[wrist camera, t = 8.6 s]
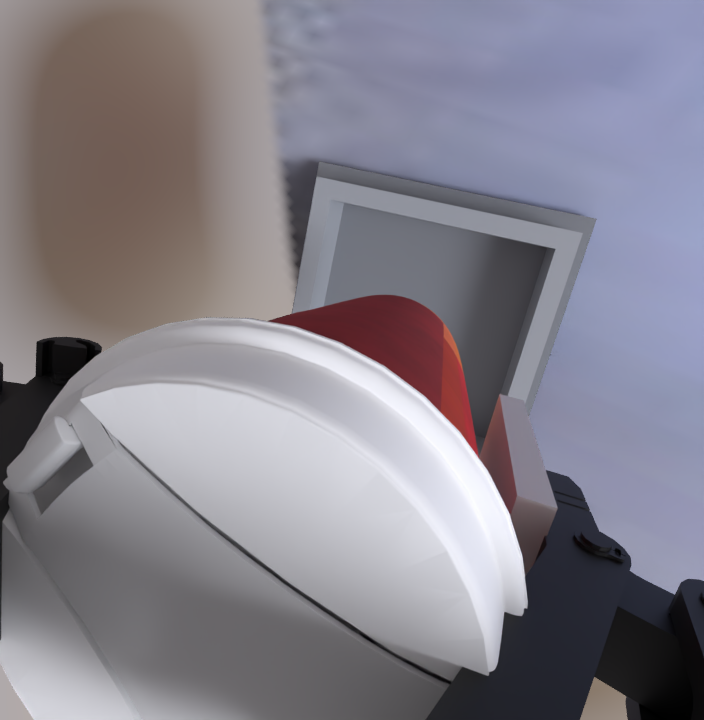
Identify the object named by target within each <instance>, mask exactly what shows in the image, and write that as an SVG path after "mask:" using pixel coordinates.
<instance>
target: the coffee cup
mask: <svg viewBox="0 0 704 720" xmlns="http://www.w3.org/2000/svg"><path fill="white" fill-rule="evenodd" d="M7 476H8V477H7V478H6V480H5V481H4V482H3V484H4V485H5V486H6V488H7V489H8V490H10V491H9V500H8V504H9V506H10V509H9V510H8V512H7V514H6V516H5V518H4V520H3V521H2V600H1V640H0V664H1V666H2V668H3V670H4V672H5V674H6V675H7V677H8V679H9V681H10V683H11V685H12V687H13V689H14V691H15V692H16V694H17V695H18V697H19V698H20V700H21V701H22V703H23V704H24V706H25V707H26V709H27V710H28V711H29V713H30V715H31V716H32V718H33V719H34V720H426V718H427V717H428V715H429V714H430V712H431V711H432V710H433V708H434V707H435V705H436V704H437V702H438V701H439V699H440V698H441V697H442V695H443V694H444V692H445V691H446V689H447V688H448V687H449V685H450V684H451V682H452V681H453V679H454V678H455V677H456V675H457V674H458V672H459V671H460V669H461V668H462V667H465V668H468V669H470V670H473V671H476V672H479V673H481V674H484V675H487V676H489V672H491V671H493V670H495V668H496V666H497V664H498V658H499V651H500V644H501V636H502V628H503V619H504V612H507V613H510V614H513V615H518V616H522V615H523V613H524V608H526V609H527V606H528V599H527V590H526V582H525V573H524V565H523V557H522V553H521V550H520V547H519V544H518V540H517V537H516V534H515V530H514V527H513V524H512V520H511V517H510V514H509V512H508V510H507V508H506V506H505V504H504V502H503V500H502V498H501V496H500V494H499V492H498V490H497V488H496V486H495V484H494V482H493V480H492V478H491V476H490V474H489V472H488V470H487V469H486V467H485V466H484V465H483V463H482V462H481V461H480V459H479V455H478V449H477V444H476V438H475V432H474V427H473V421H472V415H471V410H470V404H469V399H468V394H467V388H466V383H465V378H464V373H463V368H462V363H461V360H460V356H459V352H458V349H457V346H456V343H455V341H454V339H453V337H452V335H451V333H450V331H449V330H448V328H447V327H446V325H445V324H444V323H443V321H442V320H441V319H440V318H439V317H438V316H437V315H436V314H435V313H434V312H432V311H431V310H430V309H428V308H427V307H426V306H424V305H422V304H420V303H418V302H416V301H414V300H411V299H409V298H405V297H402V296H396V295H371V296H365V297H360V298H355V299H351V300H347V301H343V302H339V303H335V304H331V305H327V306H323V307H319V308H315V309H312V310H306V311H301V312H296V313H293V314H290V315H286V316H283V317H280V318H276V319H273V320H270V321H263V320H258V319H252V318H213V317H208V318H207V317H206V318H200V319H194V320H188V321H181V322H175V323H169V324H164V325H161V326H159V327H156V328H153V329H150V330H147V331H144V332H141V333H138V334H136V335H133V336H130V337H127V338H125V339H124V340H122V341H120V342H119V343H117V344H116V345H114V346H112V347H110V348H109V349H107V350H105V351H103V352H102V353H100V354H98V355H97V356H95V357H94V358H93V359H92V360H91V361H90V362H89V363H87V364H86V365H85V366H84V367H83V368H82V369H81V370H80V371H78V372H77V373H76V374H75V375H74V376H73V377H72V378H71V379H70V380H69V381H68V382H67V384H66V385H65V386H64V388H63V389H62V390H61V392H60V393H59V394H58V396H57V397H56V398H55V400H54V401H53V402H52V404H51V405H50V406H49V408H48V410H47V411H46V412H45V414H44V416H43V418H42V420H41V422H40V424H39V426H38V428H37V429H36V431H35V432H34V433H33V435H32V436H31V437H30V439H29V440H28V442H27V444H26V446H25V448H24V450H23V451H22V452H21V453H20V454H19V455H18V456H17V457H16V458H15V460H14V461H13V462H12V463H11V464H10V465H9V466H8V467H7Z"/></svg>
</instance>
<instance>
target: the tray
mask: <svg viewBox="0 0 704 720" xmlns="http://www.w3.org/2000/svg"><path fill="white" fill-rule="evenodd" d="M595 222H596V219H594V218H590V217H585V216H580V215H575V214H570V213H565V212H561V211H556V210H551V209H546V208H541V207H536V206H532V205H527V204H522V203H517V202H512V201H507V200H503V199H498V198H493V197H488V196H483V195H478V194H474V193H469V192H464V191H459V190H454V189H450V188H445V187H440V186H435V185H430V184H425V183H421V182H416V181H411V180H406V179H401V178H396V177H392V176H387V175H382V174H377V173H372V172H367V171H363V170H358V169H353V168H348V167H343V166H338V165H334V164H329V163H324V162H319V165H318V171H317V176H316V182H315V187H314V193H313V198H312V204H311V210H310V215H309V221H308V226H307V232H306V237H305V243H304V249H303V254H302V260H301V265H300V271H299V276H298V282H297V287H296V293H295V299H294V304H293V310H292V314H293V313H296V312H301V311H306V310H312V309H315V308H319V307H323V306H327V305H331V304H335V303H339V302H343V301H347V300H351V299H355V298H360V297H365V296H371V295H396V296H402V297H405V298H409V299H411V300H414V301H416V302H418V303H420V304H422V305H424V306H426V307H427V308H428V309H430V310H431V311H432V312H434V313H435V314H436V315H437V316H438V317H439V318H440V319H441V320H442V321H443V323H444V324H445V325H446V327H447V328H448V330H449V331H450V333H451V335H452V337H453V339H454V341H455V343H456V346H457V349H458V352H459V356H460V360H461V363H462V368H463V373H464V378H465V383H466V388H467V394H468V399H469V404H470V410H471V415H472V421H473V427H474V432H475V438H476V444H477V449H478V455H479V456H480V453H481V450H482V447H483V444H484V441H485V438H486V435H487V431H488V428H489V425H490V422H491V419H492V416H493V413H494V410H495V406H496V403H497V400H498V397H499V394H502V395H505V396H509V397H513V398H516V399H520V400H524V403H525V407H526V410H527V413H528V416H529V414H530V411H531V409H532V406H533V403H534V400H535V397H536V394H537V391H538V388H539V385H540V382H541V379H542V377H543V374H544V371H545V368H546V365H547V362H548V359H549V356H550V353H551V350H552V347H553V345H554V342H555V339H556V336H557V333H558V330H559V327H560V324H561V321H562V318H563V315H564V313H565V310H566V307H567V304H568V301H569V298H570V295H571V292H572V289H573V286H574V283H575V280H576V278H577V275H578V272H579V269H580V266H581V263H582V260H583V257H584V254H585V251H586V248H587V246H588V243H589V240H590V237H591V234H592V231H593V228H594V225H595Z"/></svg>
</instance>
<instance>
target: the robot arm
mask: <svg viewBox="0 0 704 720" xmlns="http://www.w3.org/2000/svg"><path fill="white" fill-rule="evenodd" d="M101 350H102V347H101V346H100V345H99V344H98V343H95V342H93V341H90V340H85V339H81V338H72V337H53V338H47V339H43V340H40V341H37V350H36V351H37V352H36V376H35V377H34V378H33V379H32V380H30V381H29V382H28V383H27V384H19V383H12V382H6V381H3V364H2V363H1V362H0V640H1V600H2V521H3V520H4V518H5V516H6V514H7V512H8V510H9V509H10V506H9V504H8V500H9V491H10V490H8V489H7V488H6V486H5V485H4V484H3V482H4V481H5V480H6V478H7V477H8V476H7V467H8V466H9V465H10V464H11V463H12V462H13V461H14V460H15V458H16V457H17V456H18V455H19V454H20V453H21V452H22V451H23V450H24V448H25V446H26V444H27V442H28V440H29V439H30V437H31V436H32V435H33V433H34V432H35V431H36V429H37V428H38V426H39V424H40V422H41V420H42V418H43V416H44V414H45V412H46V411H47V410H48V408H49V406H50V405H51V404H52V402H53V401H54V400H55V398H56V397H57V396H58V394H59V393H60V392H61V390H62V389H63V388H64V386H65V385H66V384H67V382H68V381H69V380H70V379H71V378H72V377H73V376H74V375H75V374H76V373H77V372H78V371H80V370H81V369H82V368H83V367H84V366H85V365H86V364H87V363H89V362H90V361H91V360H92V359H93V358H94V357H95V356H97V355H98V354H100V353H101ZM479 459H480V461H481V462H482V463H483V465H484V466H485V467H486V469H487V470H488V472H489V474H490V476H491V478H492V480H493V482H494V484H495V486H496V488H497V490H498V492H499V494H500V496H501V498H502V500H503V502H504V504H505V506H506V508H507V510H508V512H509V514H510V517H511V520H512V524H513V527H514V530H515V534H516V537H517V540H518V544H519V547H520V550H521V553H522V557H523V565H524V573H525V582H526V590H527V599H528V606H527V609H526V608H524V613H523V615H522V616H518V615H513V614H510V613H507V612H504V619H503V628H502V636H501V644H500V651H499V658H498V664H497V666H496V668H495V670H493V671H491V672H489V676H487V675H484V674H481V673H479V672H476V671H473V670H470V669H468V668H465V667H462V668H461V669H460V671H459V672H458V674H457V675H456V677H455V678H454V679H453V681H452V682H451V684H450V685H449V687H448V688H447V689H446V691H445V692H444V694H443V695H442V697H441V698H440V699H439V701H438V702H437V704H436V705H435V707H434V708H433V710H432V711H431V712H430V714H429V715H428V717H427V718H426V720H580V717H581V714H582V711H583V708H584V705H585V702H586V699H587V696H588V693H589V690H590V687H591V684H592V681H593V678H594V677H596V678H597V679H599V680H601V681H602V682H604V683H606V684H607V685H609V686H611V687H612V688H614V689H616V690H617V691H619V692H621V693H622V694H624V695H626V709H627V717H628V720H704V581H702V580H696V579H687V580H685V581H683V582H681V584H680V586H679V588H678V590H677V592H676V594H675V595H674V594H672V593H670V592H668V591H666V590H664V589H662V588H660V587H658V586H656V585H654V584H652V583H650V582H648V581H646V580H644V579H642V578H640V577H638V576H637V575H635V574H634V573H632V572H631V571H629V570H630V567H631V558H630V556H629V555H628V553H627V552H626V551H625V549H624V548H623V547H622V546H620V545H619V544H618V543H617V542H616V541H614V540H613V539H611V538H610V537H608V536H606V535H605V534H603V533H601V532H599V530H598V528H597V525H596V523H595V521H594V518H593V516H592V514H591V512H590V511H589V510H590V509H589V507H588V505H587V502H585V498H584V495H583V493H582V491H581V489H580V488H579V487H578V486H577V485H576V484H575V483H574V482H573V481H572V480H571V479H570V478H569V477H567V476H564V475H561V474H557V473H554V472H551V471H547V470H545V466H544V463H543V460H542V457H541V454H540V451H539V448H538V444H537V441H536V438H535V435H534V432H533V429H532V425H531V422H530V419H529V416H528V413H527V410H526V407H525V403H524V400H520V399H516V398H513V397H509V396H505V395H502V394H499V397H498V400H497V403H496V406H495V410H494V413H493V416H492V419H491V422H490V425H489V428H488V431H487V435H486V438H485V441H484V444H483V447H482V450H481V453H480V456H479Z"/></svg>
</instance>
